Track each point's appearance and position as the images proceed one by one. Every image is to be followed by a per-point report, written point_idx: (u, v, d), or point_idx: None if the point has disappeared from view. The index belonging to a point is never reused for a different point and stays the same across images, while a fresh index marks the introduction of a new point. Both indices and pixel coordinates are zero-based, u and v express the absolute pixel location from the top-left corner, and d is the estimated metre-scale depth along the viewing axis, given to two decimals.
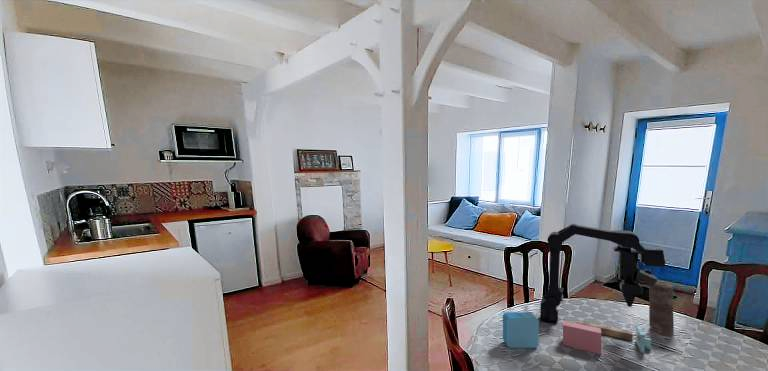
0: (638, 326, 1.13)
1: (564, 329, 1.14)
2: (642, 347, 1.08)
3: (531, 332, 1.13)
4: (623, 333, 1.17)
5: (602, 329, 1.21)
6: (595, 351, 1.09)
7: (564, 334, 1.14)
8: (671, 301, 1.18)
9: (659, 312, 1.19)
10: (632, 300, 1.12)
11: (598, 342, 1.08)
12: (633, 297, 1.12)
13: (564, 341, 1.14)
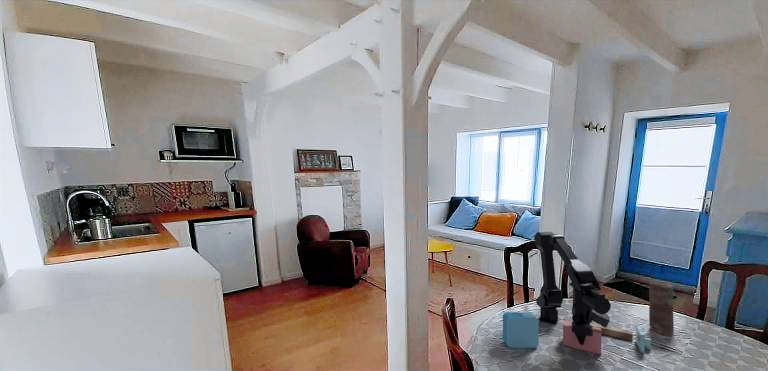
0: (638, 326, 1.13)
1: (564, 329, 1.14)
2: (642, 347, 1.08)
3: (531, 332, 1.13)
4: (623, 333, 1.17)
5: (602, 329, 1.21)
6: (595, 351, 1.09)
7: (564, 334, 1.14)
8: (671, 301, 1.18)
9: (659, 312, 1.19)
10: (584, 339, 1.10)
11: (598, 342, 1.08)
12: (584, 335, 1.09)
13: (564, 341, 1.14)
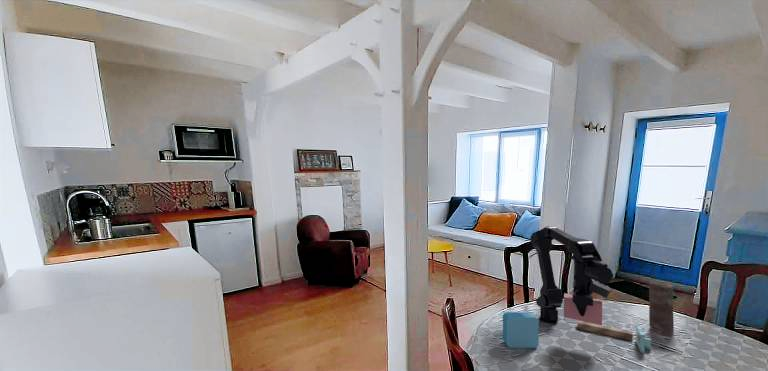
0: (638, 326, 1.13)
1: (565, 301, 1.15)
2: (642, 347, 1.08)
3: (531, 332, 1.12)
4: (623, 333, 1.17)
5: (602, 329, 1.21)
6: (596, 322, 1.10)
7: (565, 306, 1.15)
8: (671, 301, 1.18)
9: (659, 312, 1.19)
10: (584, 310, 1.10)
11: (599, 313, 1.09)
12: (585, 306, 1.10)
13: (565, 313, 1.15)
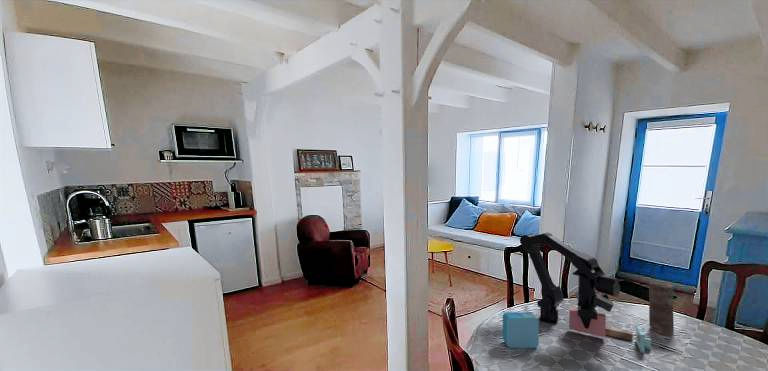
0: (638, 326, 1.13)
1: (570, 314, 1.21)
2: (642, 347, 1.08)
3: (531, 332, 1.12)
4: (623, 333, 1.17)
5: None
6: (600, 334, 1.16)
7: (570, 319, 1.21)
8: (671, 301, 1.18)
9: (659, 312, 1.19)
10: (589, 323, 1.17)
11: (603, 326, 1.15)
12: (589, 319, 1.16)
13: (570, 325, 1.21)
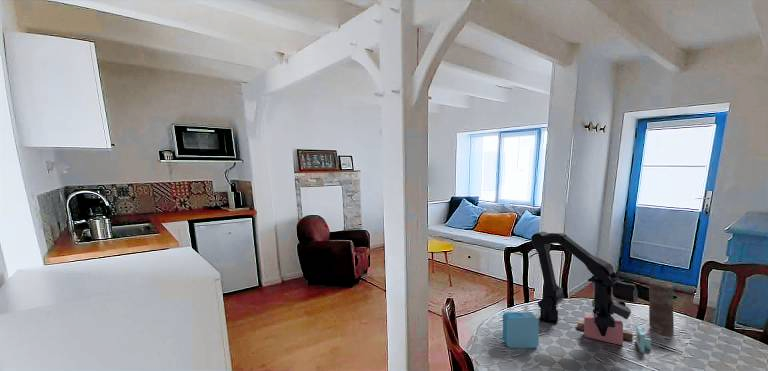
0: (638, 326, 1.13)
1: (586, 321, 1.18)
2: (642, 347, 1.08)
3: (531, 332, 1.12)
4: (623, 333, 1.17)
5: None
6: (617, 342, 1.13)
7: (586, 326, 1.18)
8: (671, 301, 1.18)
9: (659, 312, 1.19)
10: (605, 330, 1.14)
11: (620, 334, 1.13)
12: (606, 327, 1.14)
13: (586, 333, 1.18)
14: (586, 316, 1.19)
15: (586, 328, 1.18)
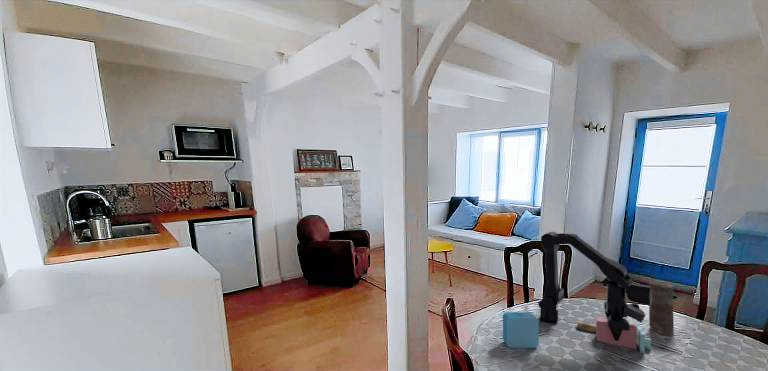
0: (638, 326, 1.13)
1: (598, 325, 1.16)
2: (642, 347, 1.08)
3: (531, 332, 1.12)
4: None
5: None
6: (630, 346, 1.11)
7: (598, 330, 1.16)
8: (671, 301, 1.18)
9: (659, 312, 1.19)
10: (619, 335, 1.11)
11: (633, 338, 1.11)
12: (620, 331, 1.11)
13: (598, 337, 1.16)
14: (598, 320, 1.17)
15: (598, 332, 1.16)
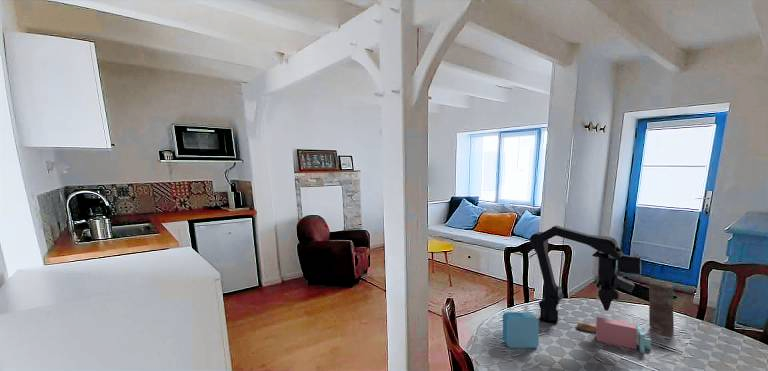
0: (638, 326, 1.13)
1: (598, 325, 1.16)
2: (642, 347, 1.08)
3: (531, 332, 1.12)
4: None
5: None
6: (630, 346, 1.11)
7: (598, 330, 1.16)
8: (671, 301, 1.18)
9: (659, 312, 1.19)
10: (609, 305, 1.15)
11: (633, 338, 1.11)
12: (609, 301, 1.14)
13: (598, 337, 1.16)
14: (598, 320, 1.17)
15: (598, 332, 1.16)
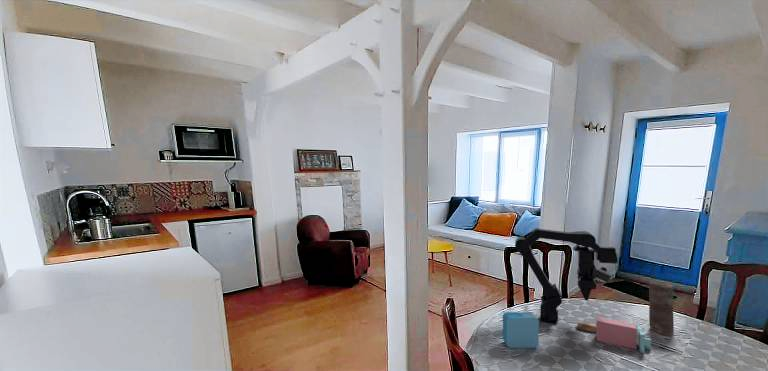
0: (638, 326, 1.13)
1: (598, 325, 1.16)
2: (642, 347, 1.08)
3: (531, 332, 1.12)
4: None
5: None
6: (630, 346, 1.11)
7: (598, 330, 1.16)
8: (671, 301, 1.18)
9: (659, 312, 1.19)
10: (588, 294, 1.23)
11: (633, 338, 1.11)
12: (589, 291, 1.23)
13: (598, 337, 1.16)
14: (598, 320, 1.17)
15: (598, 332, 1.16)
